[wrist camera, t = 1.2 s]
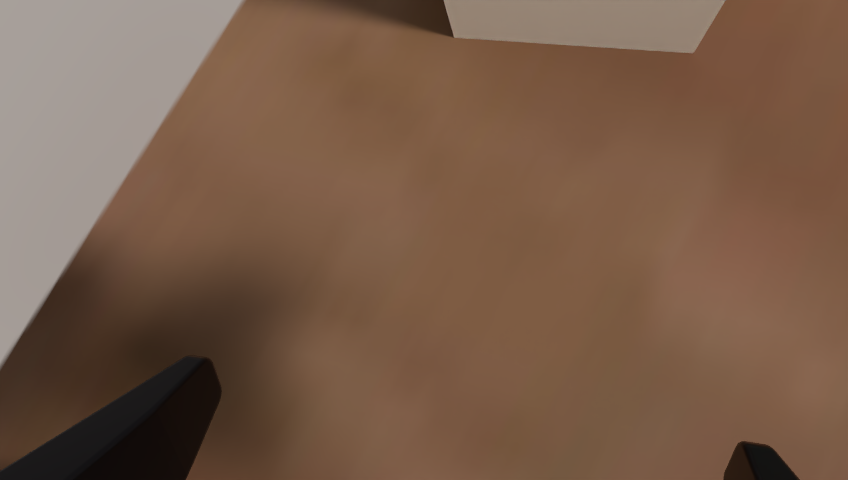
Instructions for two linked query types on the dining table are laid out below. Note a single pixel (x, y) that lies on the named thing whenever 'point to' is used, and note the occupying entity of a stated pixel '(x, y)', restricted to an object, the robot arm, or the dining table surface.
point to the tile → (587, 22)
